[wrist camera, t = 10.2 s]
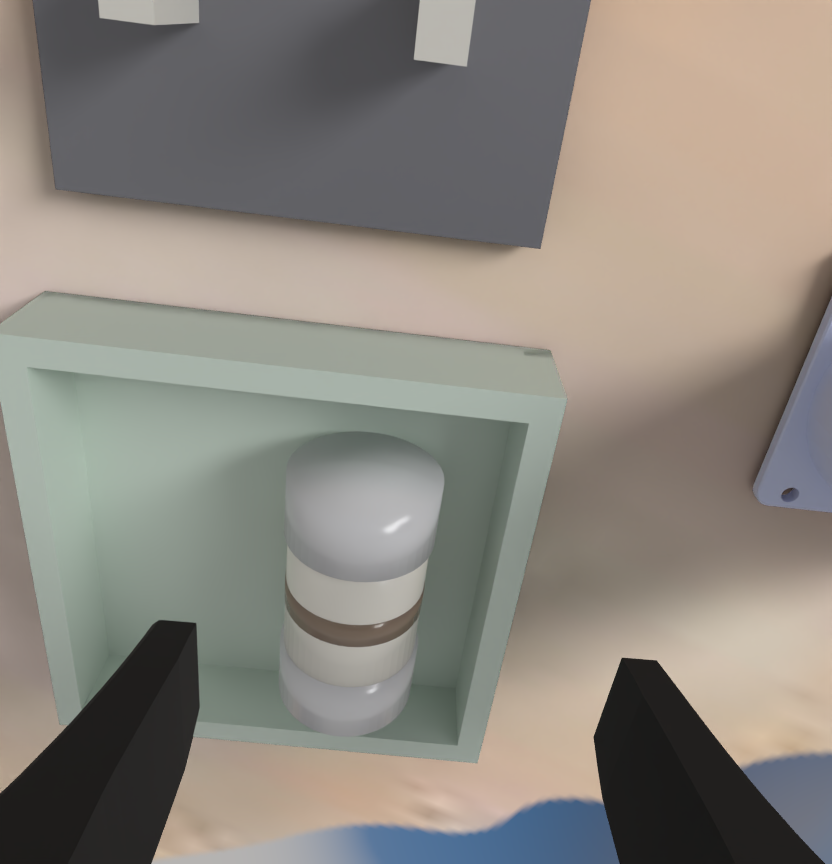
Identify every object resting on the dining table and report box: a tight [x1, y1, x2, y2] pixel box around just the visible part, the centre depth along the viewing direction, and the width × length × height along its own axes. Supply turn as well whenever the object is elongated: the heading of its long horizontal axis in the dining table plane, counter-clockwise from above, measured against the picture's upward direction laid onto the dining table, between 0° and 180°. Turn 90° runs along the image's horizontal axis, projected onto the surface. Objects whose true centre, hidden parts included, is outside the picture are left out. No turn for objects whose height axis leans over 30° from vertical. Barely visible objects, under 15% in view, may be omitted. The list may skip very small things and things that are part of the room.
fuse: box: [279, 432, 444, 737], centre depth 22 cm, size 4×8×4 cm
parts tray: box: [0, 291, 567, 763], centre depth 23 cm, size 14×14×3 cm
